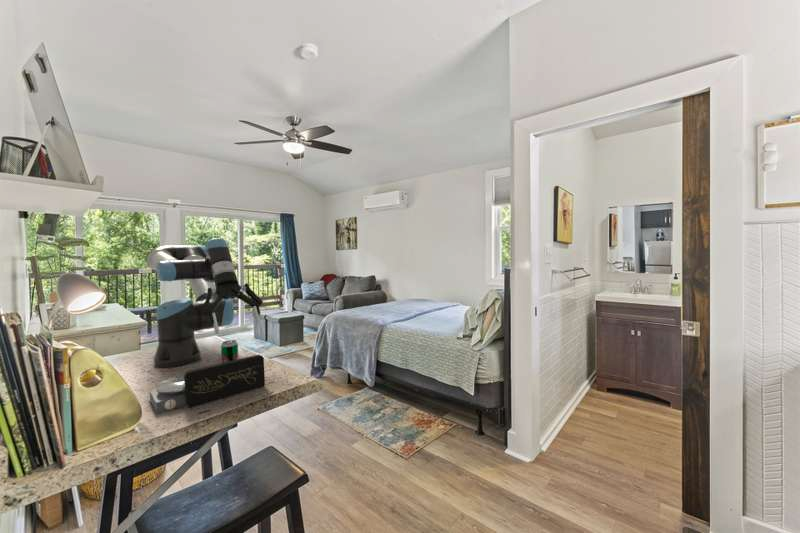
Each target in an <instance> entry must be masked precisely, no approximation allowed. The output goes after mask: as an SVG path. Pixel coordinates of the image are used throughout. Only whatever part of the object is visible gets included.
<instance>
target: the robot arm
mask: <svg viewBox="0 0 800 533" xmlns="http://www.w3.org/2000/svg"><path fill="white" fill-rule="evenodd" d="M145 263H146V265H147V266H148V267H149V268H150V269H151V270H153V271H156V276H157V279H158V281H159V282H175V281H186V280H187V281H188V283H189V285H190V288H191V291H192V292H193V295H194V297H195V301H193V299H192V298H188V297H187V298H179V299H174V300H170V301H165V302H164V303H162V304H161V303H160V304H159V305H158V306H157V307H156V317H155V319H156V326H157V342H158V344H157V347H156V352H155V353H154V357H153V366H155V367H157V368H174V367H181V366H184V365H188V364H191V363H194V362H196V361H198V360H200V359H201V358H202V356H201V353H202V352H201V349H200V347H199V345H198V342H197V341H196V336H195V332H198V331H204V330H209V329H214V334H218V333H219V332H220V329H219V328H222V327H226V326H229V325H232V323H233V321H234V318H235V317H234V316H235V305H234V300H233V299H235V298H237V299H238V300H241V301H242V302H244V303H245V304H247V305H249V306H250V307H252V309H251V311H252V313H253V317H254V320H255V324H256V326H259V325H260V323H261V319H260V315H261V310H260V307H261V306H262V305H263V303H264V301H263V300H262V299H261V298H260V297H259V296H258V295H257V294H256V292H254V290H252V289H251V288H250V284H248V283H244V284H243V285H240V284H239V281H238V276H237V274H236V270H235V267H234V262H233V259H232V255H231V252H230V247H229V245H228V242H227V241H226V240H225V239H223V238H216V237H215V238H212V239H209V240H208V241H206V242H205V246H204V245H202V244H187V245H186V244H182V245H181V244H176V245H175V244H171V245H170V244H169V245H161V246H156V247H155V248H153V249H151V250H150V251H149V252H148V253H147V254H146V255H145ZM244 293H246V294H244Z"/></svg>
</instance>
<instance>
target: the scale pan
mask: <svg viewBox="0 0 800 533" xmlns="http://www.w3.org/2000/svg"><path fill="white" fill-rule="evenodd" d="M155 387H156V388H155V389H156V390H157V392H158V393H163V394H170V393H178V392H182V391H185V381H184V374H181V375H177V376H172V377H169V378H166V379H164V380H162V381H160V382H158V384H157V385H156V386H155Z"/></svg>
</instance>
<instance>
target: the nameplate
mask: <svg viewBox="0 0 800 533" xmlns="http://www.w3.org/2000/svg"><path fill="white" fill-rule="evenodd" d="M183 375H184V381H185V397H186V405H185V406H187V408H189V409H192V408H195V407H199V406H202V405H205V404H208V403H209V404H210V403H213V402H215V401H219V400H223V399H226V398H230V397H233V396H236V395H237V396H238V395H240V394H244V393H247V392H249V391H254V390H257V389H261V388H264V387H265V385H266V379H265V357H264V356H262V355H261V354H256V355H252V356H251V355H250V356H247V357H242V358H239V359H237V360H233V361H229V362H224V363H222V362H221V363H215V364H211V365H207V366H203V367H199V368H195V369H190V370H189V369H188V370H187V371H185V372H184V374H183Z"/></svg>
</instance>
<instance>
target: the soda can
mask: <svg viewBox="0 0 800 533" xmlns="http://www.w3.org/2000/svg"><path fill="white" fill-rule="evenodd" d="M220 350H221V351H220V353H221V363H224V362H229V361H233V360H237V359H240V358H239V343H238V342H237V340H235V339H230V340H229V339H228V340H224V341H222V342H221V344H220Z"/></svg>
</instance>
